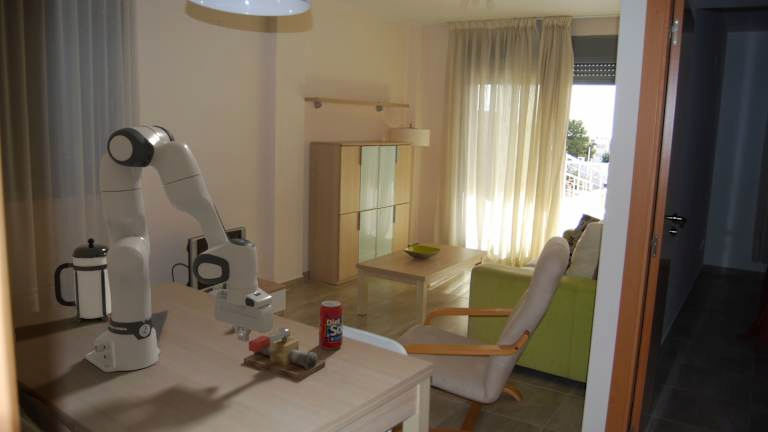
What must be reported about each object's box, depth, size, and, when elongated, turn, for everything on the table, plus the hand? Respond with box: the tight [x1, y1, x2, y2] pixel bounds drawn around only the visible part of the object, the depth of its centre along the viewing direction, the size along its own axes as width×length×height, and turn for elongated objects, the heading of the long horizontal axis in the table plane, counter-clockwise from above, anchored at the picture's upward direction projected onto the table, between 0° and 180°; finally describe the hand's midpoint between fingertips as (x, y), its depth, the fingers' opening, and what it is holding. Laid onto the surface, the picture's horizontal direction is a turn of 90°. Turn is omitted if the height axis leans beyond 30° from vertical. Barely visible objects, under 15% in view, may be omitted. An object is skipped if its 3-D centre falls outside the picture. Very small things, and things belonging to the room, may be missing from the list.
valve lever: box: [248, 327, 291, 353], centre depth 169 cm, size 16×3×3 cm, turn 150°
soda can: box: [318, 300, 344, 350], centre depth 190 cm, size 8×8×15 cm
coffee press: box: [53, 237, 111, 324], centre depth 209 cm, size 17×16×30 cm
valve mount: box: [243, 337, 326, 381], centre depth 175 cm, size 22×12×9 cm, turn 60°
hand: (243, 340), depth 168 cm, fingers closed
